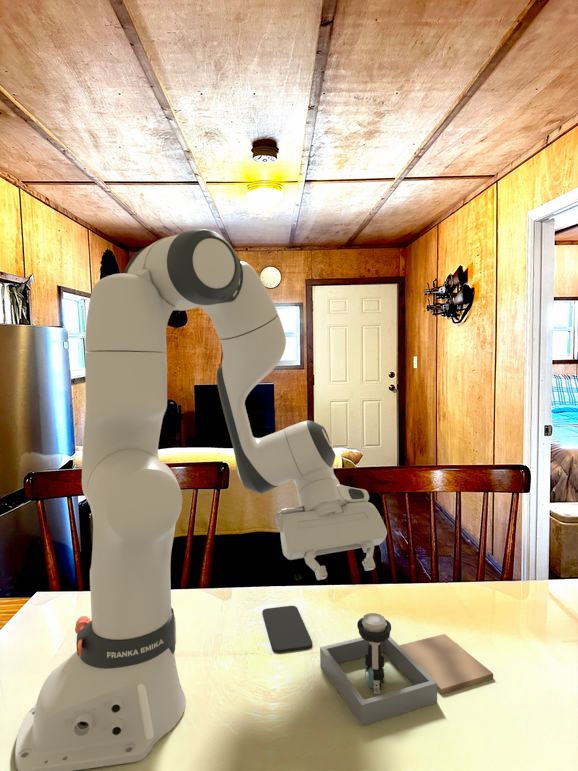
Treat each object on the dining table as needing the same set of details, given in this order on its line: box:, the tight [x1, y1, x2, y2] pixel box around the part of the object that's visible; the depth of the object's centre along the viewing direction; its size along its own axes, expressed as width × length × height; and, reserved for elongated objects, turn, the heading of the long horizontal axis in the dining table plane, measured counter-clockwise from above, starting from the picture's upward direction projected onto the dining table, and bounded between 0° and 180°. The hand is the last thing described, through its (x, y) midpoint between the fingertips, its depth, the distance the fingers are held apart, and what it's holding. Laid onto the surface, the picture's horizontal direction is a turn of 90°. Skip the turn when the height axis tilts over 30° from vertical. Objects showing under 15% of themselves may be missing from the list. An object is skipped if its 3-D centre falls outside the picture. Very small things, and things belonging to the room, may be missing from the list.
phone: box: [261, 605, 313, 654], centre depth 91 cm, size 7×1×15 cm
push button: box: [356, 612, 392, 695], centre depth 75 cm, size 7×5×10 cm
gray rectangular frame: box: [319, 636, 438, 727], centre depth 75 cm, size 13×15×3 cm
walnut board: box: [398, 633, 494, 695], centre depth 80 cm, size 10×12×1 cm
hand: (347, 573), depth 84 cm, fingers open, 8 cm apart
